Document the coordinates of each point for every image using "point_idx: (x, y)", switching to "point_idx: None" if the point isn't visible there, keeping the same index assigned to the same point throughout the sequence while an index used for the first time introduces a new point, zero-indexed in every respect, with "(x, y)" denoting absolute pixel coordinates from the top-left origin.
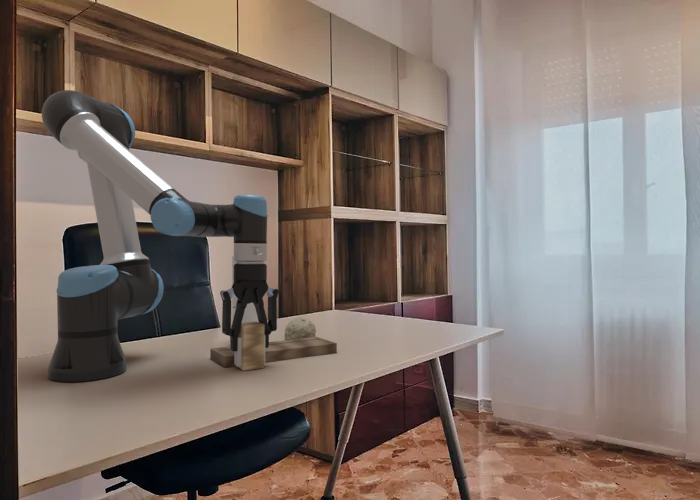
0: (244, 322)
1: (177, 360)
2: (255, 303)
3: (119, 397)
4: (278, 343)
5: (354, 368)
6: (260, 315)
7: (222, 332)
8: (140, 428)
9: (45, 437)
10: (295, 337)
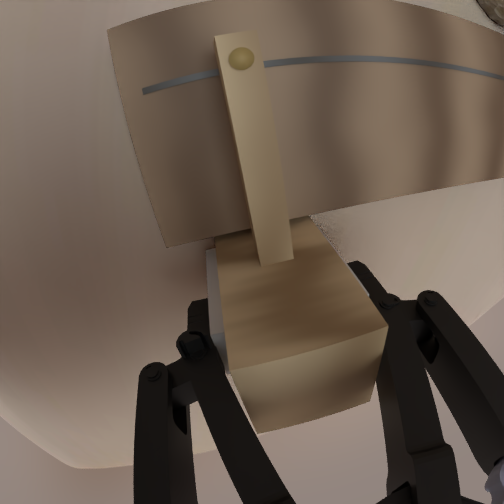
0: (298, 358)
1: (6, 60)
2: (402, 483)
3: (14, 377)
4: (448, 67)
5: (458, 313)
6: (383, 424)
7: (142, 373)
8: (100, 451)
9: (31, 436)
10: (501, 3)
